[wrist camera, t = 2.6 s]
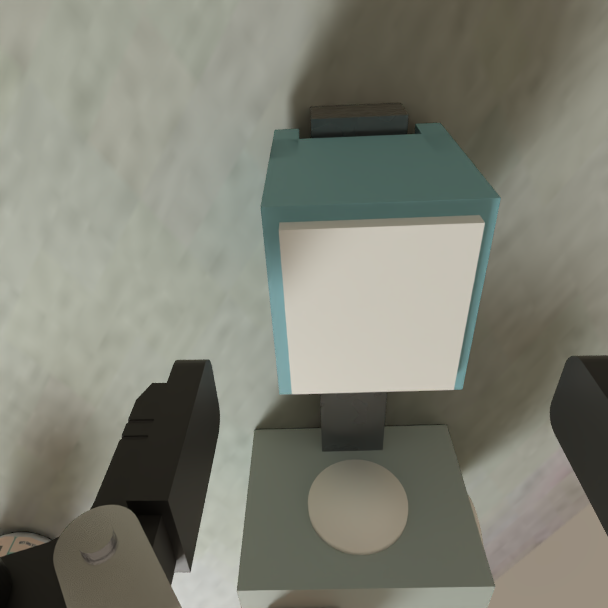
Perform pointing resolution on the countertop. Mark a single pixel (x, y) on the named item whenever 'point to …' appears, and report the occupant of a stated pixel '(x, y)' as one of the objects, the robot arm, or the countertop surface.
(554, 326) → the countertop surface
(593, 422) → the robot arm
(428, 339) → the box
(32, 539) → the beer can
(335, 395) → the rail
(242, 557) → the cabinet
